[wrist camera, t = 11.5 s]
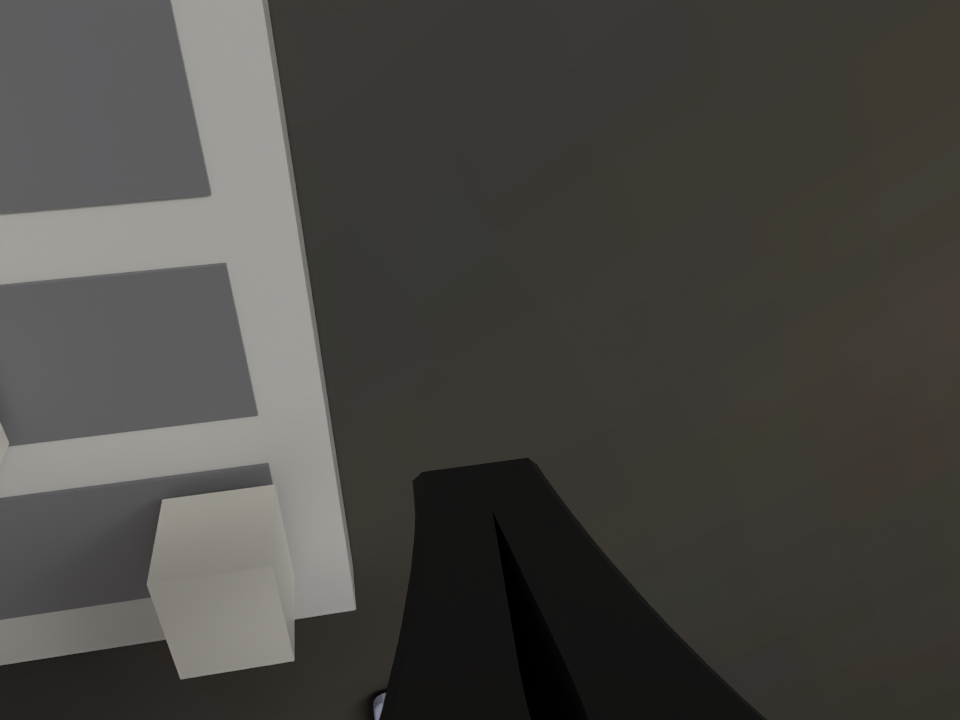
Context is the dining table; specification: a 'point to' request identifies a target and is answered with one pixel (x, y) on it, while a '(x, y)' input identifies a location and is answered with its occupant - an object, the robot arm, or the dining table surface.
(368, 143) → the dining table surface
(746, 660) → the dining table surface
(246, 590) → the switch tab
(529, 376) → the dining table surface
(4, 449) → the switch tab mid
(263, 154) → the panel
